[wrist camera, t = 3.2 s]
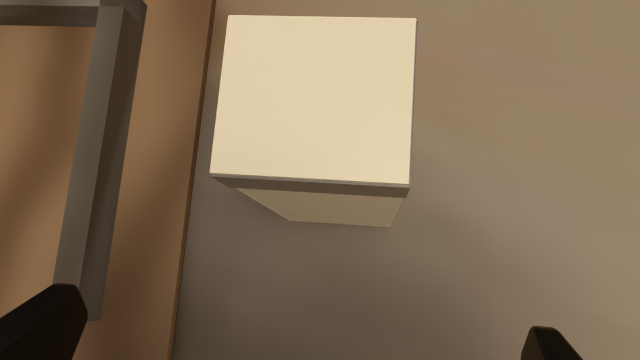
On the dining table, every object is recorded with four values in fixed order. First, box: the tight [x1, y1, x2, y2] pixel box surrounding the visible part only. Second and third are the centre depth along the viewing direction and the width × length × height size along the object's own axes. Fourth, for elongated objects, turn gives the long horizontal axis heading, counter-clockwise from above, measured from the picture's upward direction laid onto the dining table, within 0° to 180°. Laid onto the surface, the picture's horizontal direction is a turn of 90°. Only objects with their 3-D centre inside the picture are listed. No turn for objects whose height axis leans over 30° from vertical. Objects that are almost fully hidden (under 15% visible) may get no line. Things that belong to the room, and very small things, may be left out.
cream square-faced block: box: [210, 15, 418, 228], centre depth 17 cm, size 5×4×11 cm
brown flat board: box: [0, 0, 216, 360], centre depth 23 cm, size 16×22×2 cm
